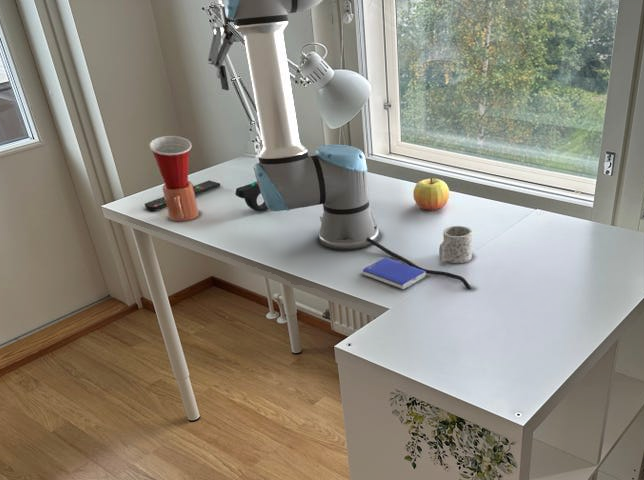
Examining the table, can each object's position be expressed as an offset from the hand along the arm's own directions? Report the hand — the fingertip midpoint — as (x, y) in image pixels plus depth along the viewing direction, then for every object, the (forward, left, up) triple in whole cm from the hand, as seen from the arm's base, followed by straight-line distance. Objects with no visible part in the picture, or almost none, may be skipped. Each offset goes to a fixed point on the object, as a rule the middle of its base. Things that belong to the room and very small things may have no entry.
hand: (246, 85), depth 208 cm
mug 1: (-10, +32, -29) cm, 44 cm away
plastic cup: (-9, +31, -20) cm, 38 cm away
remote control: (+5, +25, -29) cm, 38 cm away
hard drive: (-81, +14, -29) cm, 87 cm away
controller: (-22, +14, -29) cm, 39 cm away
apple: (-56, -21, -29) cm, 66 cm away
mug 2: (-85, -1, -29) cm, 90 cm away
